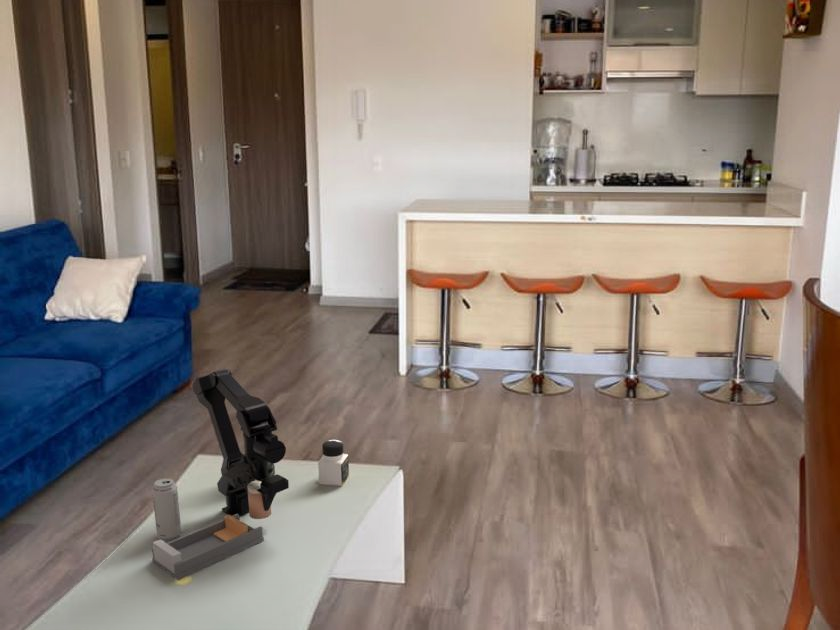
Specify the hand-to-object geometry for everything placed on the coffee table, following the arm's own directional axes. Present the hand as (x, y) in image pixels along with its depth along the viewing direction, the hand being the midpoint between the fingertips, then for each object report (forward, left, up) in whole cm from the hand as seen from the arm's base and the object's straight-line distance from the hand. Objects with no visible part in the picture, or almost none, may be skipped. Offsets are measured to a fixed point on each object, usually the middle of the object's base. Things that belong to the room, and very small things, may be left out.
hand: (259, 506), depth 206 cm
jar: (0, 0, -2) cm, 2 cm away
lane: (0, -16, -6) cm, 17 cm away
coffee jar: (-25, +17, -6) cm, 31 cm away
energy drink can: (-14, -19, -6) cm, 24 cm away
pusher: (0, -9, -5) cm, 10 cm away
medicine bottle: (-8, +31, -6) cm, 33 cm away
